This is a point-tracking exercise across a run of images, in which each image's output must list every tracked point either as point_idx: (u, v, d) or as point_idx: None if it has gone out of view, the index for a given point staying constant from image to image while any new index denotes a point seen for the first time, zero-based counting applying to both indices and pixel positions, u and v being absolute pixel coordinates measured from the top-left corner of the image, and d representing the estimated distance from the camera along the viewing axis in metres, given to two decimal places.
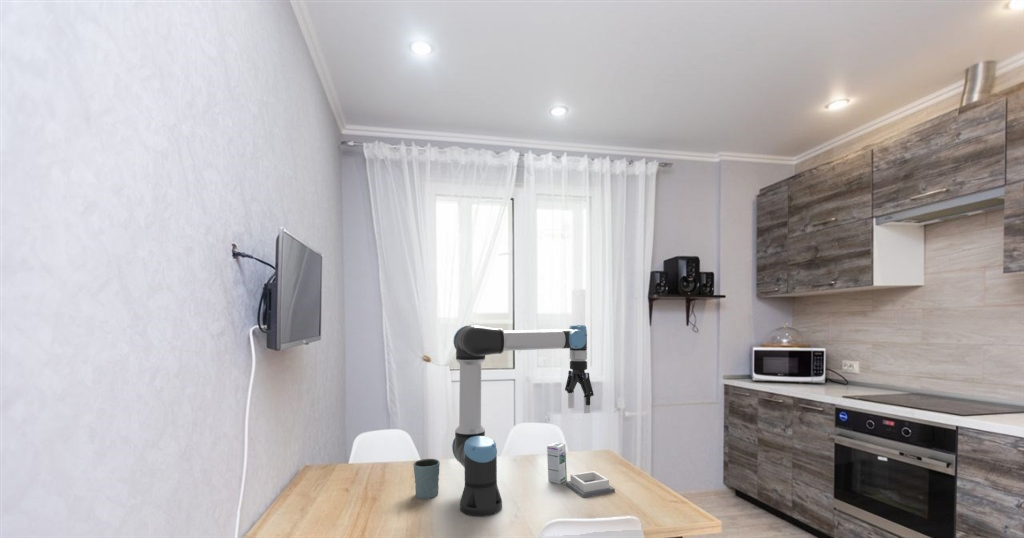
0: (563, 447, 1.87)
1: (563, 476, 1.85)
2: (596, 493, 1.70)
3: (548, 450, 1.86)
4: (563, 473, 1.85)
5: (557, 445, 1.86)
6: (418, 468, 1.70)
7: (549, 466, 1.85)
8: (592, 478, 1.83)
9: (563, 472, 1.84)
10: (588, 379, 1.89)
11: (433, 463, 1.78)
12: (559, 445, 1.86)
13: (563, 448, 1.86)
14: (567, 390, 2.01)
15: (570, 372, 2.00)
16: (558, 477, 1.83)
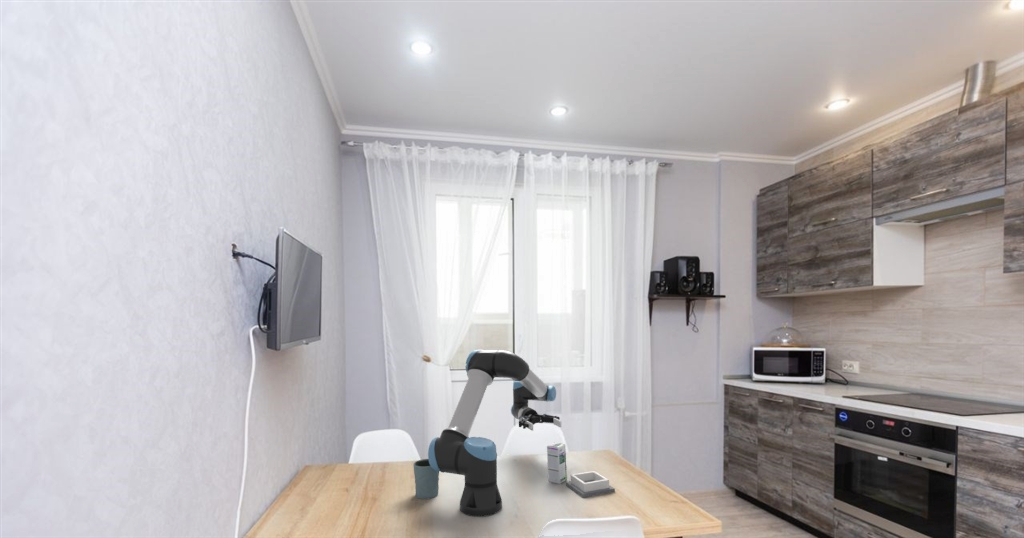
0: (563, 447, 1.87)
1: (563, 476, 1.85)
2: (596, 493, 1.70)
3: (548, 450, 1.86)
4: (563, 473, 1.85)
5: (557, 445, 1.86)
6: (418, 468, 1.70)
7: (549, 466, 1.85)
8: (592, 478, 1.83)
9: (563, 472, 1.84)
10: None
11: None
12: (559, 445, 1.86)
13: (563, 448, 1.86)
14: (523, 420, 2.01)
15: None
16: (558, 477, 1.83)
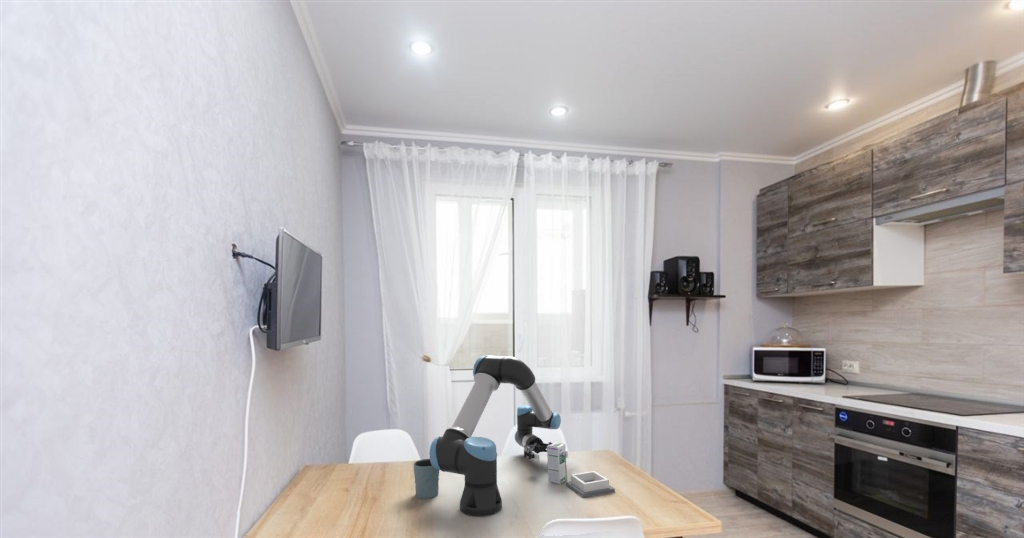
0: (563, 447, 1.87)
1: (563, 476, 1.85)
2: (596, 493, 1.70)
3: (548, 450, 1.86)
4: (563, 473, 1.85)
5: (557, 445, 1.86)
6: (418, 468, 1.70)
7: (549, 466, 1.85)
8: (592, 478, 1.83)
9: (563, 472, 1.84)
10: None
11: None
12: (559, 445, 1.86)
13: (563, 448, 1.86)
14: (529, 451, 1.96)
15: None
16: (558, 477, 1.83)
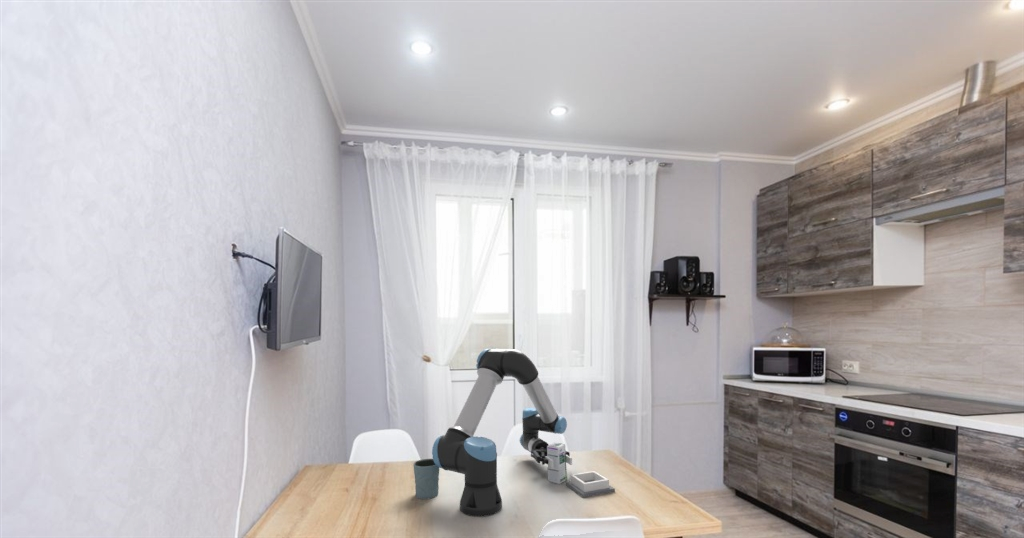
0: (563, 447, 1.87)
1: (563, 476, 1.85)
2: (596, 493, 1.70)
3: (548, 450, 1.86)
4: (563, 473, 1.85)
5: (557, 445, 1.86)
6: (418, 468, 1.70)
7: (549, 466, 1.85)
8: (592, 478, 1.83)
9: (563, 472, 1.84)
10: None
11: (433, 463, 1.79)
12: (559, 445, 1.86)
13: (563, 448, 1.87)
14: (542, 456, 1.87)
15: None
16: (558, 477, 1.83)
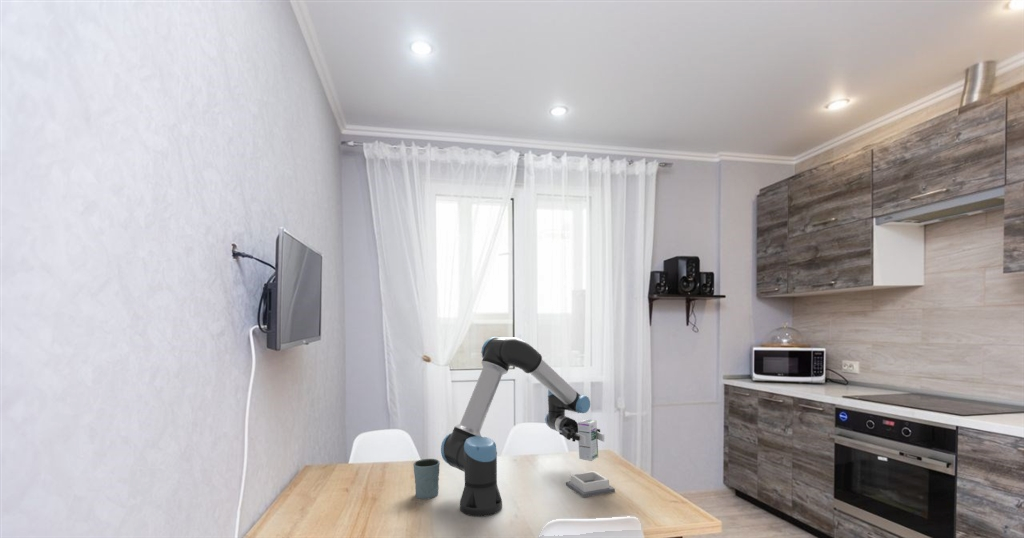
0: (594, 423, 1.79)
1: (595, 453, 1.77)
2: (596, 493, 1.70)
3: (579, 426, 1.79)
4: (595, 450, 1.77)
5: (588, 421, 1.79)
6: (418, 468, 1.70)
7: (580, 443, 1.78)
8: (592, 478, 1.83)
9: (594, 448, 1.77)
10: None
11: (433, 463, 1.78)
12: (590, 421, 1.79)
13: (594, 424, 1.79)
14: (572, 432, 1.80)
15: None
16: (590, 454, 1.75)
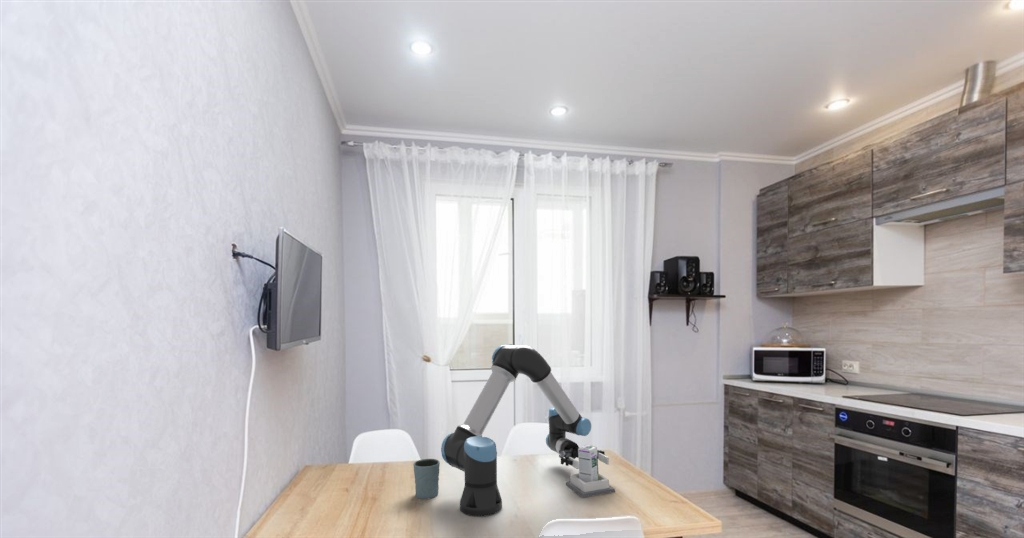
0: (595, 450, 1.78)
1: None
2: (596, 493, 1.70)
3: (579, 453, 1.78)
4: (595, 477, 1.76)
5: (589, 448, 1.78)
6: (418, 468, 1.70)
7: (580, 470, 1.77)
8: None
9: (595, 476, 1.76)
10: None
11: (433, 463, 1.78)
12: (591, 448, 1.78)
13: (595, 451, 1.78)
14: (566, 456, 1.80)
15: None
16: None
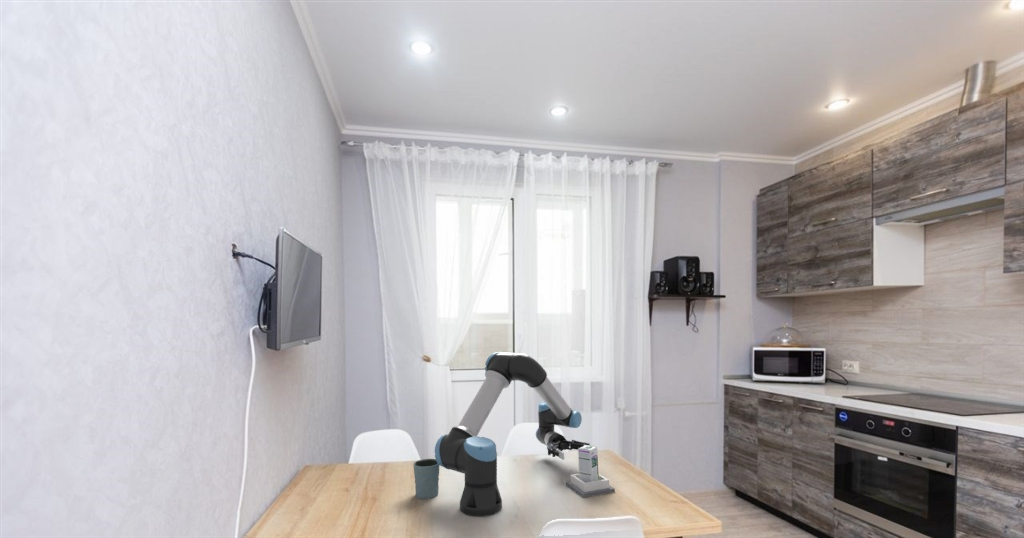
0: (595, 450, 1.78)
1: (596, 480, 1.76)
2: (596, 493, 1.70)
3: (579, 453, 1.78)
4: (595, 477, 1.76)
5: (589, 448, 1.78)
6: (418, 468, 1.70)
7: (580, 470, 1.77)
8: None
9: (595, 476, 1.76)
10: None
11: (433, 463, 1.78)
12: (591, 448, 1.78)
13: (595, 451, 1.78)
14: (553, 448, 1.91)
15: (549, 444, 1.99)
16: None
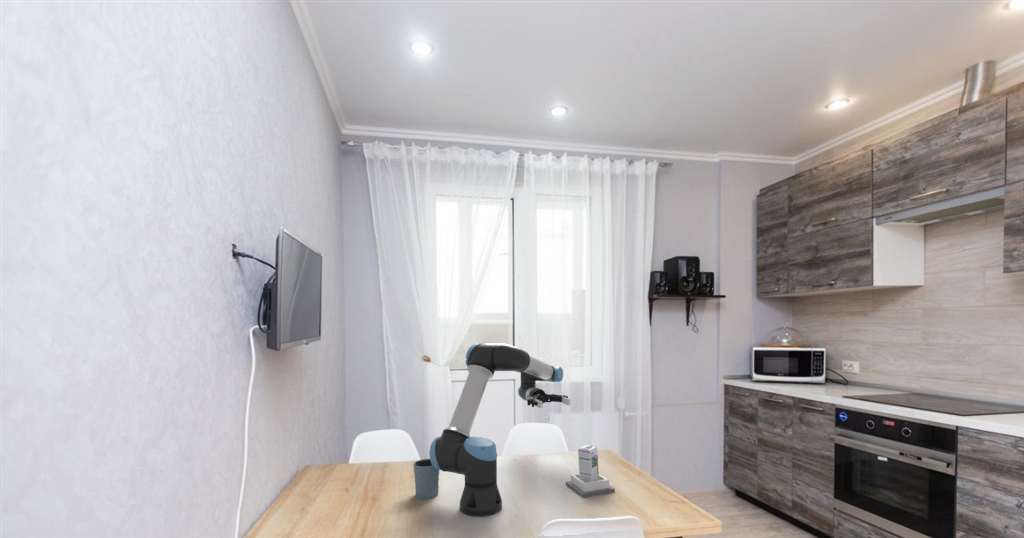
0: (595, 450, 1.78)
1: None
2: (596, 493, 1.70)
3: (579, 453, 1.78)
4: (595, 477, 1.76)
5: (589, 448, 1.78)
6: (418, 468, 1.70)
7: (580, 470, 1.77)
8: None
9: (595, 476, 1.76)
10: None
11: None
12: (591, 448, 1.78)
13: (595, 451, 1.78)
14: (532, 399, 2.00)
15: None
16: None
